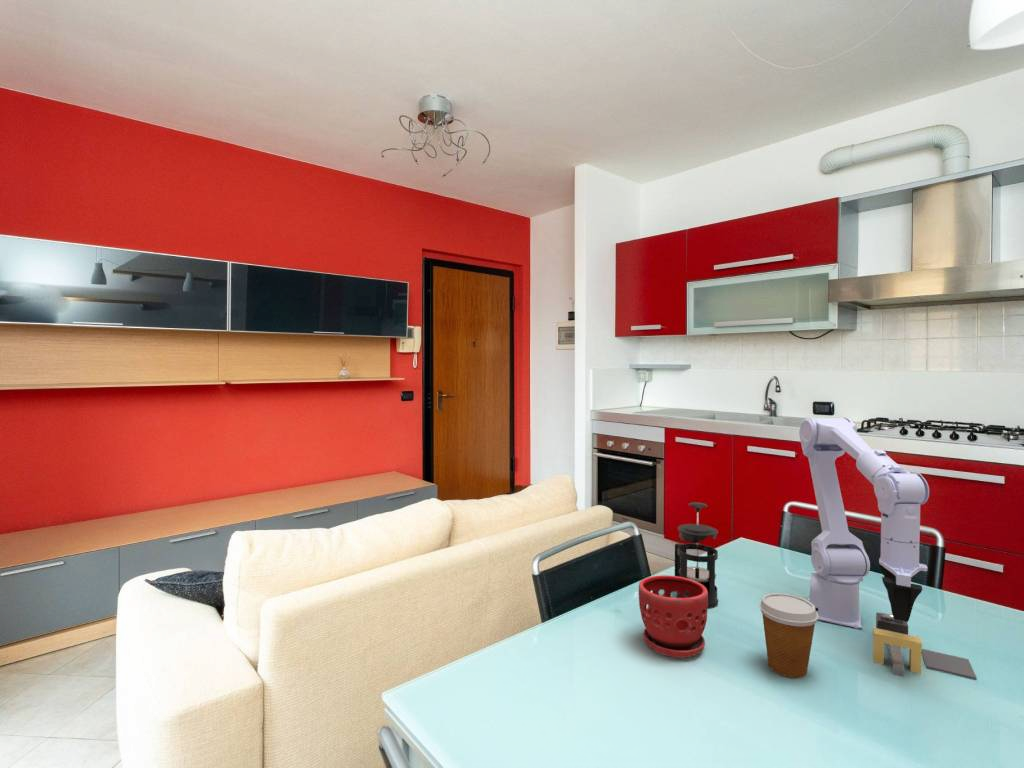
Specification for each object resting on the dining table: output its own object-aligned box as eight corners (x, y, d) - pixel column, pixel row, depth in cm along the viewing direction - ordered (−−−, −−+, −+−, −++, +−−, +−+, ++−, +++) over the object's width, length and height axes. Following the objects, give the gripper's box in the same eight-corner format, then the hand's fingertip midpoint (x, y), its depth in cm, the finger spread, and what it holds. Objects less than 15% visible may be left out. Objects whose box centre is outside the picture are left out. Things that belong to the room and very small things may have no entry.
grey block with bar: (881, 670, 95) (881, 644, 95) (875, 631, 109) (876, 608, 109) (916, 679, 92) (916, 652, 92) (905, 637, 107) (906, 614, 106)
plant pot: (718, 644, 104) (719, 584, 104) (689, 672, 94) (690, 606, 94) (657, 622, 113) (658, 567, 113) (625, 646, 103) (626, 585, 103)
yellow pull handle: (873, 662, 98) (874, 633, 97) (873, 656, 100) (873, 627, 100) (921, 673, 94) (921, 643, 94) (919, 667, 96) (919, 637, 96)
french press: (729, 604, 122) (730, 506, 121) (700, 613, 117) (701, 511, 117) (690, 586, 132) (691, 495, 131) (662, 593, 128) (663, 499, 127)
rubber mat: (926, 668, 96) (926, 665, 96) (921, 650, 102) (921, 648, 102) (976, 679, 92) (976, 677, 92) (968, 661, 98) (968, 659, 98)
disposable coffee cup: (795, 689, 89) (796, 619, 89) (747, 661, 98) (748, 598, 97) (829, 674, 94) (830, 608, 93) (780, 649, 102) (781, 588, 102)
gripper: (933, 554, 88) (932, 633, 88) (921, 531, 100) (920, 601, 101) (882, 546, 92) (881, 623, 92) (877, 525, 104) (875, 593, 104)
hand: (898, 611), depth 97 cm, fingers open, 7 cm apart
